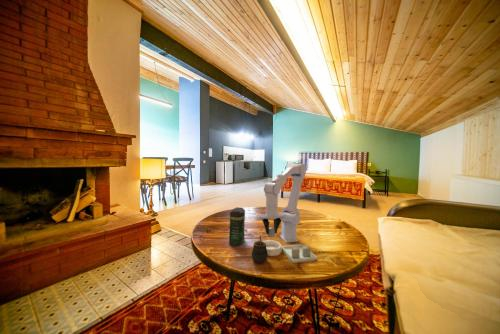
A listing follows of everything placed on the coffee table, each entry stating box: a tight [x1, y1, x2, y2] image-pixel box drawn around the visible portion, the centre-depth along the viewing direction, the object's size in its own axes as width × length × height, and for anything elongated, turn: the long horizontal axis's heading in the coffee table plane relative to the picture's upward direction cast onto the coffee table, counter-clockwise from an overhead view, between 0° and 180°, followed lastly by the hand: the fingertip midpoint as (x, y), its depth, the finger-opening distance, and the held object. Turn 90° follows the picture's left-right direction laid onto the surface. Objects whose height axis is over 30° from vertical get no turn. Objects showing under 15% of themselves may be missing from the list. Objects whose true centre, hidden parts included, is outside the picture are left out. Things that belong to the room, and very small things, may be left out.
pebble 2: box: [302, 245, 312, 258], centre depth 88 cm, size 4×4×4 cm
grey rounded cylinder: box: [267, 226, 276, 239], centre depth 93 cm, size 4×4×4 cm
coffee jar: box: [228, 207, 246, 246], centre depth 102 cm, size 10×8×19 cm
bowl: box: [263, 239, 283, 257], centre depth 94 cm, size 10×10×3 cm
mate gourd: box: [251, 235, 269, 264], centre depth 84 cm, size 7×8×10 cm
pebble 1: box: [292, 247, 300, 259], centre depth 86 cm, size 4×4×4 cm
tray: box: [282, 243, 318, 264], centre depth 90 cm, size 13×12×2 cm
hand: (271, 233), depth 93 cm, fingers closed on grey rounded cylinder, 4 cm apart
